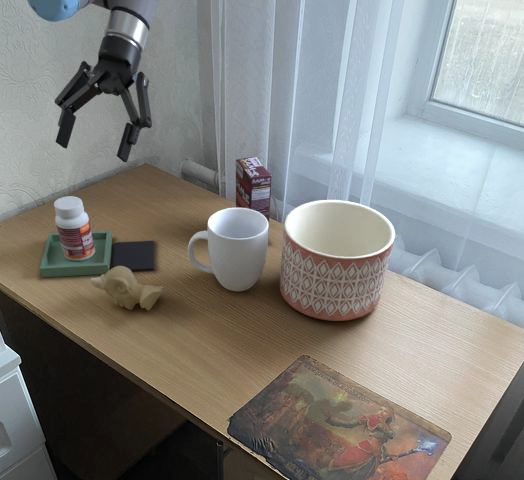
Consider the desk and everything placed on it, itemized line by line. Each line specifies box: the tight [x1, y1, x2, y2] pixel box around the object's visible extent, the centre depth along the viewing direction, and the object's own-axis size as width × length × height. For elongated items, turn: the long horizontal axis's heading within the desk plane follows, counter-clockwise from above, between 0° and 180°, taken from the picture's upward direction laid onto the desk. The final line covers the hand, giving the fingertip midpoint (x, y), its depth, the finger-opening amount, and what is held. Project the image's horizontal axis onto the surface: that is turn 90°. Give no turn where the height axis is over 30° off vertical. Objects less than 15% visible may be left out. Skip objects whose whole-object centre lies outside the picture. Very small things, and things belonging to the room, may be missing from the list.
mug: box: [187, 207, 269, 292], centre depth 100 cm, size 15×11×13 cm
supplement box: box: [235, 156, 273, 234], centre depth 111 cm, size 9×5×16 cm, turn 22°
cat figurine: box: [90, 266, 165, 311], centre depth 96 cm, size 8×7×12 cm
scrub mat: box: [112, 240, 155, 273], centre depth 109 cm, size 10×8×1 cm
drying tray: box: [39, 230, 113, 278], centre depth 108 cm, size 13×13×2 cm
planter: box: [279, 199, 396, 322], centre depth 98 cm, size 19×19×15 cm
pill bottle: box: [53, 195, 95, 261], centre depth 104 cm, size 6×6×11 cm
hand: (90, 152), depth 102 cm, fingers open, 13 cm apart
